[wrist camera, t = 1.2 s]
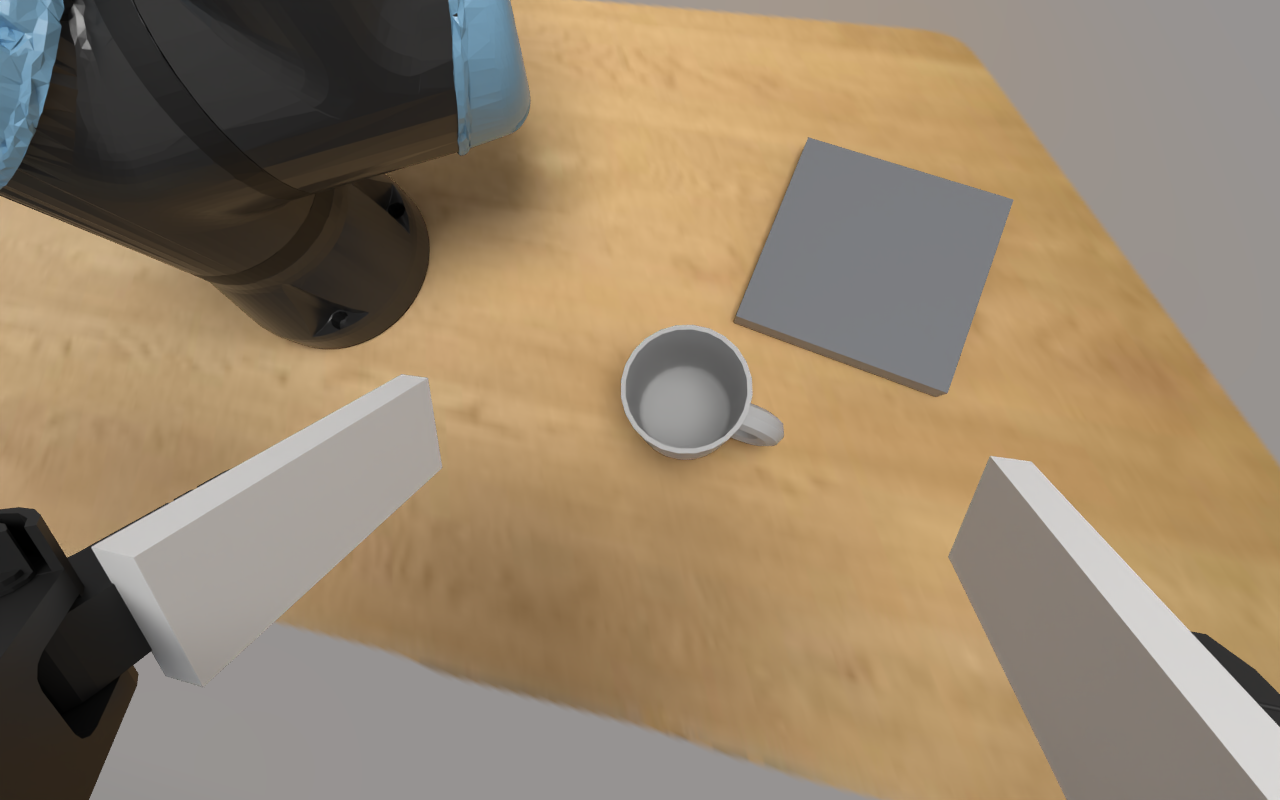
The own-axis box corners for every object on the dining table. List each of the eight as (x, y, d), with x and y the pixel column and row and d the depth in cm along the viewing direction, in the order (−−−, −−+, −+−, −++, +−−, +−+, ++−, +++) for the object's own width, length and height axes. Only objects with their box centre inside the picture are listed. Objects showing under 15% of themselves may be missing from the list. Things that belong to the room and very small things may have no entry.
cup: (657, 348, 36) (649, 307, 28) (786, 397, 35) (821, 368, 26) (620, 438, 35) (600, 424, 27) (751, 491, 34) (774, 494, 25)
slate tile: (733, 322, 36) (735, 315, 35) (803, 150, 38) (808, 137, 36) (936, 397, 34) (947, 393, 32) (999, 211, 36) (1013, 199, 34)
